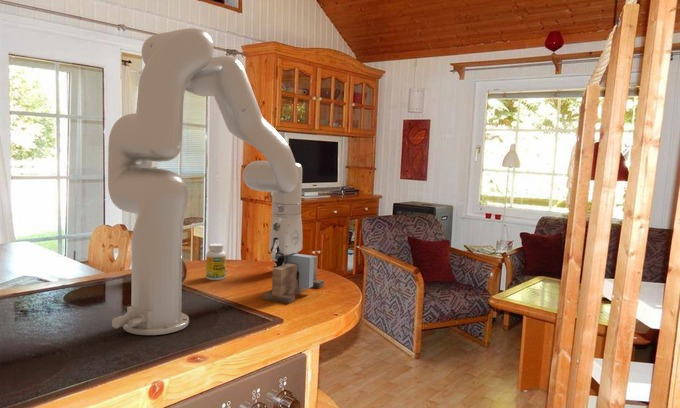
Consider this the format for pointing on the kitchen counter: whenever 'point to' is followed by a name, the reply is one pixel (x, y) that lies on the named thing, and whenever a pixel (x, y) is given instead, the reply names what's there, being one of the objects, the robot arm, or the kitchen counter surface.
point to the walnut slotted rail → (289, 283)
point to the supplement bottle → (216, 262)
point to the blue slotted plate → (303, 268)
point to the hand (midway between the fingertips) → (284, 278)
